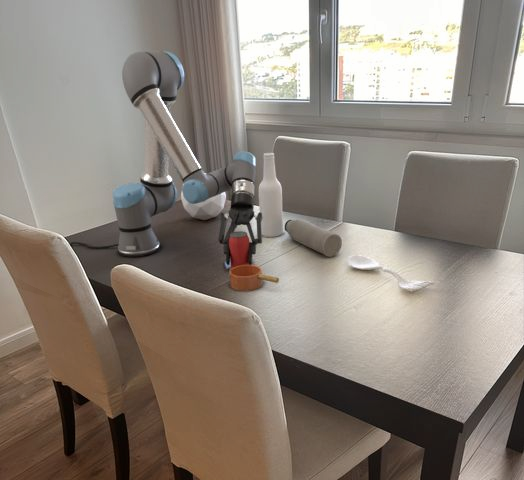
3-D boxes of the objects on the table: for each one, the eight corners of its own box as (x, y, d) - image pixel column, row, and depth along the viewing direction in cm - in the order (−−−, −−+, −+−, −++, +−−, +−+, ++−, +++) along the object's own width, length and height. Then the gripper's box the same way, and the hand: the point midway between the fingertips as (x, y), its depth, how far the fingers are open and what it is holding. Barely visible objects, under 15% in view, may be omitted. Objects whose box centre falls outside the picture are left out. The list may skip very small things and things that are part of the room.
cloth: (224, 263, 168) (224, 261, 168) (249, 260, 169) (249, 258, 169) (226, 270, 163) (226, 267, 163) (252, 266, 164) (252, 264, 164)
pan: (224, 286, 151) (222, 273, 149) (242, 275, 158) (241, 262, 156) (250, 293, 146) (249, 279, 144) (268, 281, 153) (268, 267, 151)
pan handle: (256, 279, 148) (256, 274, 147) (259, 277, 149) (259, 272, 148) (276, 283, 144) (276, 278, 144) (279, 281, 146) (279, 276, 145)
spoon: (410, 299, 137) (412, 288, 136) (340, 265, 162) (341, 255, 160) (434, 291, 141) (435, 280, 139) (362, 259, 165) (362, 249, 163)
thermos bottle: (345, 243, 169) (302, 224, 191) (334, 229, 164) (290, 210, 186) (330, 261, 170) (288, 240, 191) (318, 247, 164) (277, 227, 186)
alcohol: (287, 232, 194) (285, 151, 179) (275, 238, 188) (272, 156, 173) (268, 229, 199) (265, 150, 183) (256, 235, 192) (252, 154, 177)
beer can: (236, 275, 156) (233, 238, 150) (227, 268, 161) (224, 233, 155) (254, 270, 159) (252, 234, 152) (245, 264, 164) (243, 229, 157)
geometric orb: (211, 236, 216) (203, 207, 198) (177, 215, 222) (166, 185, 203) (237, 206, 221) (231, 176, 203) (203, 186, 227) (195, 155, 208)
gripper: (211, 192, 158) (206, 258, 152) (271, 191, 156) (268, 258, 150) (215, 204, 165) (211, 267, 160) (273, 203, 163) (270, 267, 158)
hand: (238, 263), depth 155 cm, fingers closed on beer can, 6 cm apart
